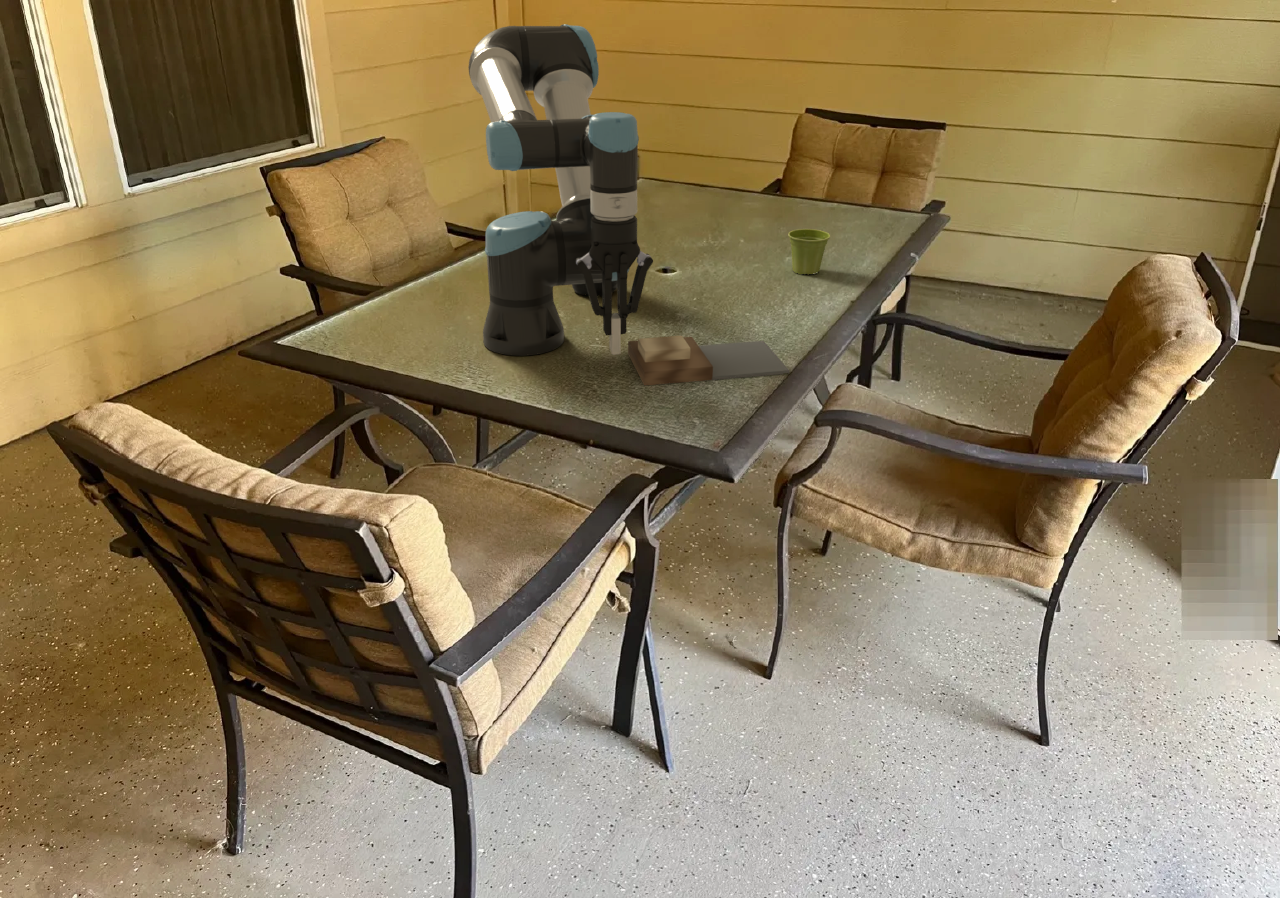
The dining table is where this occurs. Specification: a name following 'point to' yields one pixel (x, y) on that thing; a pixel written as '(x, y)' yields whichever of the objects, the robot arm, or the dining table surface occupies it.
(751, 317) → the dining table surface
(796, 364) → the dining table surface
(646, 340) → the birch tile
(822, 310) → the dining table surface
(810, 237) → the plant pot
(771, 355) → the slate mat
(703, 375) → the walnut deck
